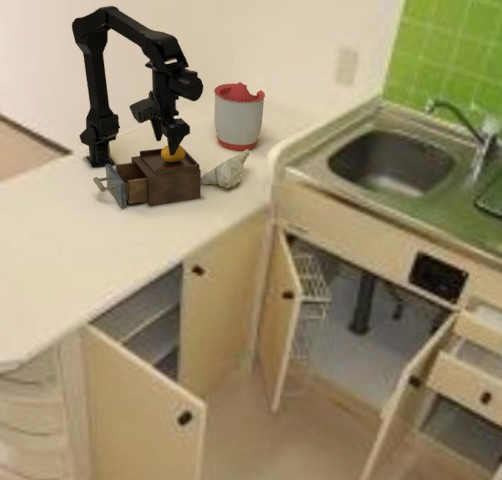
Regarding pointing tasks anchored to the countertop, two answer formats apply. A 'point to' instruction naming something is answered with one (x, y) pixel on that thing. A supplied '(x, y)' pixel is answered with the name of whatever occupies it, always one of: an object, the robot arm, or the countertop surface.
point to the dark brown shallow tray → (167, 163)
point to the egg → (174, 158)
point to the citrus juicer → (238, 116)
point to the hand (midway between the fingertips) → (165, 148)
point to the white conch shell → (227, 171)
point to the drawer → (125, 183)
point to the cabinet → (170, 185)
